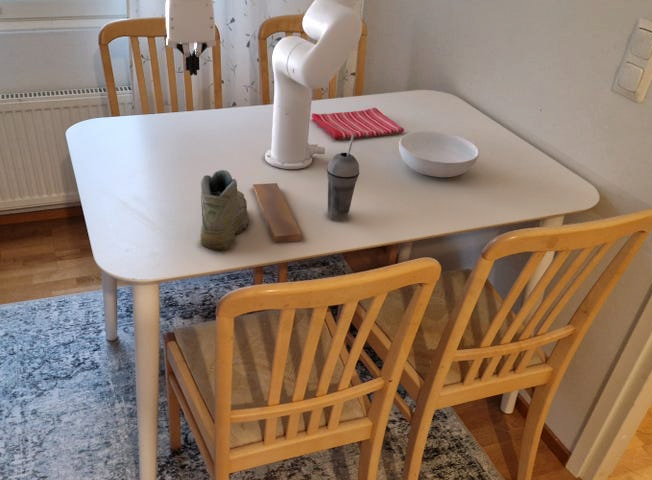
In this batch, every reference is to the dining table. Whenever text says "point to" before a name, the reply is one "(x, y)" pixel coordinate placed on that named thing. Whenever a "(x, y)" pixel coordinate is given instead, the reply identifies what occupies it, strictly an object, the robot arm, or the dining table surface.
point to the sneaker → (221, 211)
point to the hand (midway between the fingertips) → (192, 73)
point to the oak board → (276, 213)
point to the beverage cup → (341, 184)
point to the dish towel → (356, 124)
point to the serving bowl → (437, 153)
